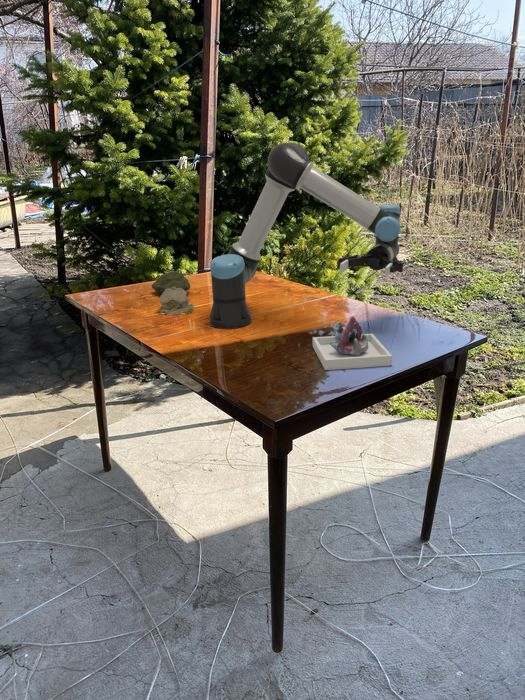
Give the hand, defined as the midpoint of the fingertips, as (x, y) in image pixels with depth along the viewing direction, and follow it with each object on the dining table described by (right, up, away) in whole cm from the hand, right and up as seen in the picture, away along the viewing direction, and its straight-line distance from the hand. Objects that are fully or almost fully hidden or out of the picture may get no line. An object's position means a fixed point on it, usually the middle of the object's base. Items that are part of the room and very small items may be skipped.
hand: (363, 270), depth 156 cm
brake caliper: (-4, -24, +1) cm, 25 cm away
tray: (-4, -25, 0) cm, 26 cm away
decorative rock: (-70, +1, +75) cm, 102 cm away
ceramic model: (-64, -9, +50) cm, 81 cm away
